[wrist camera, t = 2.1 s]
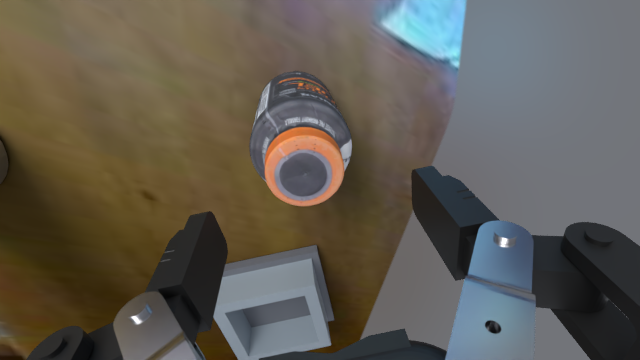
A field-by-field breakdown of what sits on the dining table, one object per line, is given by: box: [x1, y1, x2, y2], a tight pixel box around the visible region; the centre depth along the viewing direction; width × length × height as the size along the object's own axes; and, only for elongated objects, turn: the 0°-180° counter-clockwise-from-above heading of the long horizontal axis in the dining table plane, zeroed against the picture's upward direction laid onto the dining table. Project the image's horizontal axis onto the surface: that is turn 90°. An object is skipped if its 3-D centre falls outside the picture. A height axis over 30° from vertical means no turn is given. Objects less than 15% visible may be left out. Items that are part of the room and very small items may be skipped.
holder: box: [213, 245, 334, 360], centre depth 33 cm, size 12×12×4 cm
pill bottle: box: [250, 71, 352, 206], centre depth 19 cm, size 6×6×11 cm
